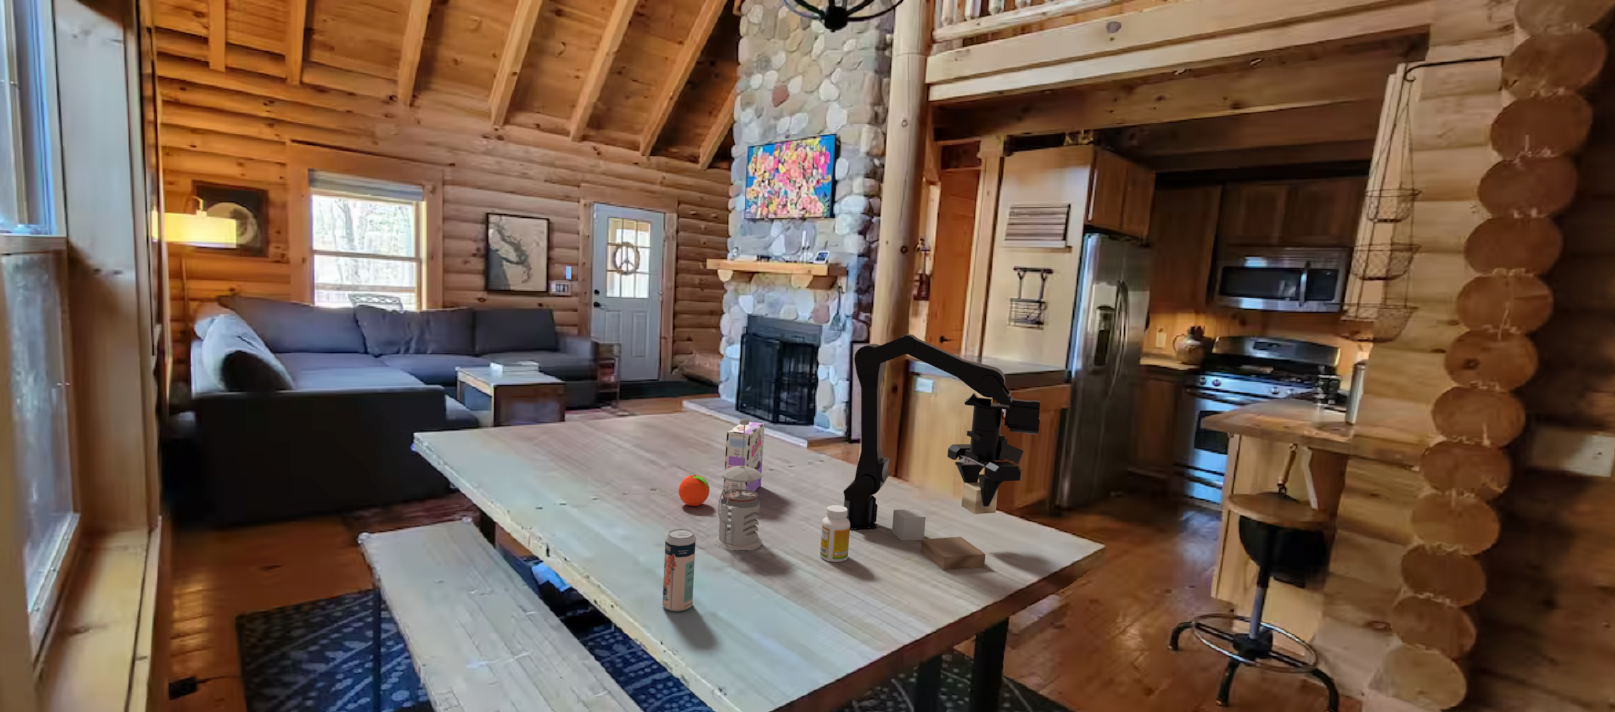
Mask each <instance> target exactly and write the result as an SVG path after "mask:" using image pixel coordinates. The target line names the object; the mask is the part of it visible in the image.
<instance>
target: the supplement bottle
mask: <svg viewBox="0 0 1615 712" xmlns="http://www.w3.org/2000/svg"><path fill="white" fill-rule="evenodd" d="M847 512H848V509H847V508H846V507H844V505H840V504H839V505H838V504H836V505H835V504H834V505H828V506H827V507H826V516H825V517H823V519H822V521H821V522H822V523H821V531H820V532H821V533H820V534H821V535H820V548H819V549H820V550H819V556H820V557H821V558H822V560H825V561H827V562H830V561H831V562H830V563H841V562H845V561H847V559H848V557H849V546H850V544H849V543H850V532H851V531H850V530H851V529H850V522H849V520H848V519H847V518H846V517H847Z"/></svg>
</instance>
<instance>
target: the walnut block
mask: <svg viewBox="0 0 1615 712" xmlns="http://www.w3.org/2000/svg"><path fill="white" fill-rule="evenodd" d="M920 544H921V545H920V552H921V554H923V555H924V556H925V557H926V558H928V559H929V560H930V561H931V562H932V563H933V564H935V565H936V566H937V567H938V568H939V569H941V570H942V571H950V570H952V571H953V570H964V569H975V568H985V562H986V553H985V552H984V551H982V550H980V549H979V548H978V547H976V546H975V545H973V544H972V543H970V542H969V541H967V540H966V539H965V538H964V537H962V536H953V537H951V536H950V537H936V538H924V539H922V540H921V542H920Z"/></svg>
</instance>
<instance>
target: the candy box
mask: <svg viewBox="0 0 1615 712" xmlns="http://www.w3.org/2000/svg"><path fill="white" fill-rule="evenodd" d="M743 434H744V425H741V424H740V423H739V424H737V425H736V426H733V428H731V429H730V430H727V431H726V441H725V442H726V443H725V444H726V445H725V459H724V471H725V470H727V469H728V468H730V467H734V466H742V451H743ZM764 434H765V423H763V422H757V421H756V422H754V421H749V425H745V435H744V453H743V466H747V467H751V468H754V469H756V470H757V471H759V472H760V473H761V474H762V471H763V454H764V453H763V452H764V438H765V437H764V436H765V435H764ZM762 475H763V474H762ZM725 486H728V490H729V489H732V488H733V487H735V489H736V488H737V489H740V486H741V482H732V481H728V480H725V479H724V478H723V489H724V488H725ZM760 487H762V477H761V478H760V479H759V480H756V481H753V482H742V487H741V489H745V490H751V491H755V492H756V491H757V490H758V489H760ZM726 490H727V487H726V488H725V489H724V491H723V490H722V491H723V492H725V491H726ZM723 498H724V497H723V496H722V499H723Z"/></svg>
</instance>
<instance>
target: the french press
mask: <svg viewBox="0 0 1615 712" xmlns="http://www.w3.org/2000/svg"><path fill="white" fill-rule="evenodd" d="M749 422H750V420H749V419H748V418H741V419H740V420H739V424H741V425H744V434H743V451H742V466H734V467H730V468H728V469H727V470H725V469H724V470H723V471H722V472H720V476H721V478H722V479H723V480H724V479H725V480H728V481H732V482H741V486H740V489H737V488H736V489H735V487H733V488H732V489H729V490H728V486H725V488H726V487H727V490H726V491H725V492H723V491H724V489H725V488H724V487H723V489H722V491H721V493H720V496H719V499H718V505H717V506H718V507H717V508H718V509H717V512H718V513H717V514H718V519H719V522H718V523H719V524H718V534H717V535H716V537H714V538H713V539H714V543H713V545H715V544H717V545H718V546H719V547H722V548H724V549H723V550H725V549H727V550H726V551H730V550H748V551H753V550H755V549H758V548H760V547H761V546H760V545H761V544H762V545H763V541H762V539H761V537H759V534H758V533H757V532H759V527H758V526H759V524H760V523H759V521H758V520H759V519H760V516H759V514H758V513H760V506H761V503H760V500H759V499H758V498H759V493H757V492H756V491H751V490H745V489H741V487H742V482H753V481H756V480H759V479H760V478H761V479H762V477H763V474H761V473H760V472H759V471H757V470H756V469H754V468H751V467H747V466H743V453H744V435H745V425H749ZM723 497H724V498H723ZM729 507H731V508H729ZM729 513H730V514H731V515H730V514H729ZM729 519H730V521H729ZM757 519H758V520H757ZM728 525H729V526H730V527H729V526H728ZM719 547H718V548H719ZM722 548H721V549H722Z"/></svg>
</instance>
